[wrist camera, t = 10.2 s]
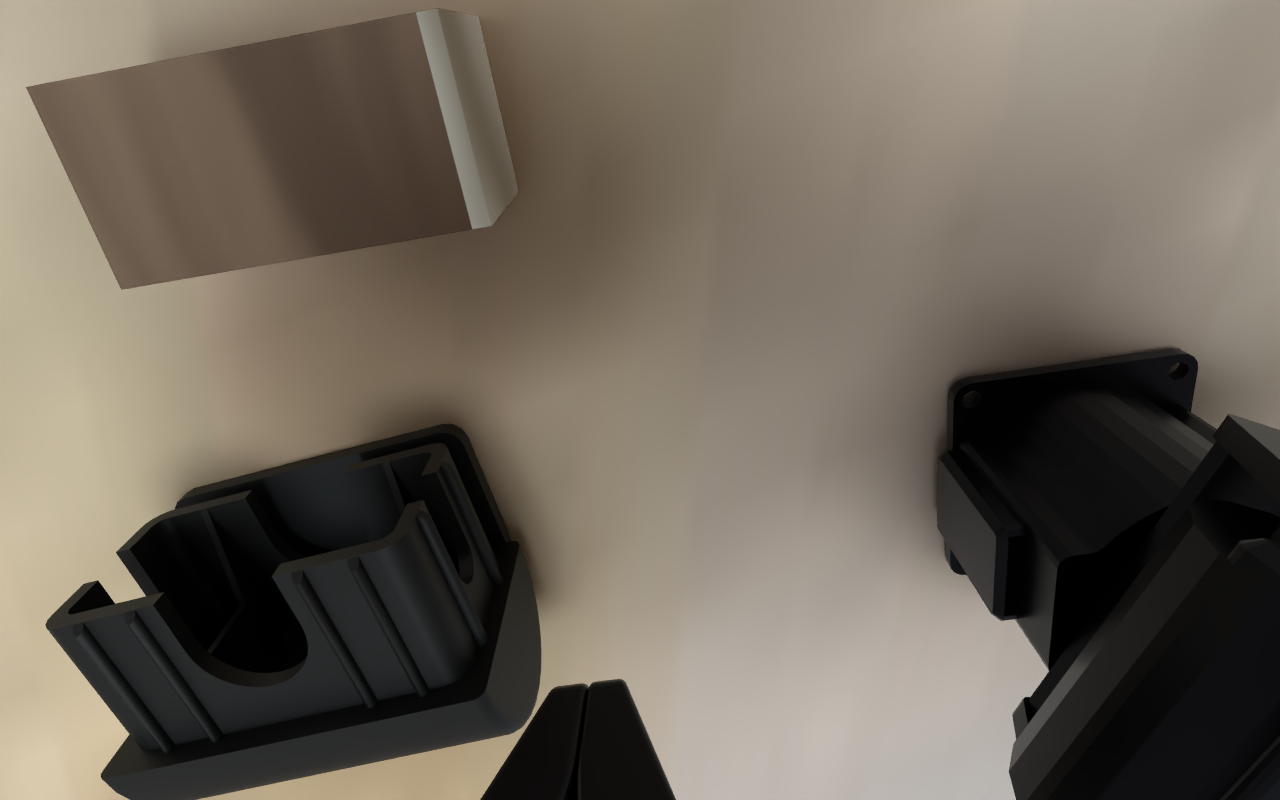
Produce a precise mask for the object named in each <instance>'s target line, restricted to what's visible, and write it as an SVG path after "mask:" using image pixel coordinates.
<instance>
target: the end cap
mask: <svg viewBox="0 0 1280 800" xmlns="http://www.w3.org/2000/svg"><path fill="white" fill-rule="evenodd" d="M116 553H117V555H118V556H119V558H120V559H121V560H122V562H123V563H124V565H125V566H126V568H127V569H128V571H129V572H130V573H131V575H132V576H133V578H134V579H135V581H136V582H137V583H138V585H139V586H140V588H141V589H142V591H143V592H144V593H145V595H146V597H142V598H138V599H134V600H130V601H125V602H121V603H117V604H115V603H114V602H113V600H112V599H111V597H110V596H109V595H108V593H107V592H106V591H105V589H104V588H103V586H102V585H101V584H100V582H99V581H94V582H90V583H86V584H83V585H82V586H81V587H80V588H79V589H78V590H77V591H76V592H75V593H74V594H73V595H72V596H71V597H70V598H69V599H68V600H67V601H66V602H65V603H64V604H63V605H62V606H61V607H60V608H59V609H58V610H57V611H56V612H55V613H54V614H53V615H52V616H51V617H50V618H49V619H48V620H47V623H46V628H47V629H48V630H49V632H50V633H51V634H52V636H53V637H54V638H55V639H56V641H57V642H58V643H59V644H60V646H61V647H62V648H63V650H64V651H65V652H66V653H67V655H68V656H69V657H70V659H71V660H72V661H73V662H74V664H75V665H76V666H77V667H78V669H79V670H80V671H81V673H82V674H83V675H84V676H85V678H86V679H87V680H88V681H89V683H90V684H91V685H92V687H93V688H94V689H95V690H96V692H97V693H98V694H99V695H100V697H101V698H102V699H103V701H104V702H105V703H106V704H107V706H108V707H109V708H110V710H111V711H112V712H113V713H114V715H115V716H116V717H117V718H118V720H119V721H120V722H121V724H122V725H123V726H124V727H125V729H126V730H127V731H128V732H129V734H130V735H129V736H128V737H127V739H126V740H125V741H124V743H123V744H122V746H121V747H120V748H119V750H118V751H117V752H116V754H115V755H114V756H113V758H112V759H111V761H110V762H109V763H108V765H107V766H106V767H105V769H104V770H103V772H102V773H101V778H102V779H103V780H104V781H105V782H106V783H107V784H108V785H109V786H110V787H111V788H112V789H113V790H114V791H115V792H117V793H118V794H120V795H122V796H124V797H126V798H128V799H130V800H197V799H201V798H206V797H211V796H216V795H221V794H225V793H230V792H235V791H240V790H245V789H249V788H254V787H259V786H264V785H269V784H273V783H278V782H283V781H288V780H293V779H297V778H302V777H307V776H312V775H317V774H321V773H326V772H331V771H336V770H341V769H345V768H350V767H355V766H360V765H364V764H369V763H374V762H379V761H384V760H388V759H393V758H398V757H403V756H408V755H412V754H417V753H422V752H427V751H432V750H436V749H441V748H446V747H451V746H456V745H460V744H465V743H470V742H475V741H480V740H484V739H489V738H494V737H499V736H504V735H508V734H511V733H514V732H515V731H517V730H519V729H520V728H522V727H523V726H524V724H525V723H526V722H527V720H528V719H529V717H530V716H531V714H532V711H533V709H534V706H535V703H536V699H537V695H538V690H539V684H540V674H541V636H540V625H539V617H538V610H537V604H536V598H535V593H534V589H533V585H532V580H531V576H530V573H529V569H528V566H527V563H526V559H525V557H524V554H523V551H522V549H521V546H520V543H519V542H517V541H511V540H510V537H509V534H508V531H507V528H506V525H505V523H504V521H503V518H502V516H501V513H500V511H499V509H498V506H497V504H496V502H495V499H494V497H493V495H492V492H491V490H490V487H489V485H488V483H487V480H486V478H485V476H484V473H483V471H482V469H481V466H480V464H479V461H478V459H477V457H476V454H475V452H474V450H473V447H472V445H471V443H470V440H469V438H468V436H467V435H466V434H465V432H464V431H463V430H462V429H461V428H459V427H457V426H455V425H452V424H442V425H438V426H434V427H430V428H426V429H423V430H419V431H415V432H411V433H407V434H403V435H399V436H395V437H392V438H388V439H384V440H380V441H376V442H372V443H368V444H365V445H361V446H357V447H353V448H349V449H345V450H341V451H337V452H334V453H330V454H326V455H322V456H318V457H314V458H310V459H307V460H303V461H299V462H295V463H291V464H287V465H283V466H279V467H276V468H272V469H268V470H264V471H260V472H256V473H252V474H248V475H245V476H241V477H237V478H233V479H229V480H225V481H221V482H218V483H214V484H210V485H206V486H202V487H198V488H194V489H192V490H191V491H189V492H187V493H186V494H185V495H184V496H183V497H182V498H181V499H180V500H179V501H178V502H177V505H176V508H175V510H172V511H169V512H166V513H164V514H162V515H160V516H158V517H156V518H154V519H152V520H151V521H149V522H148V523H146V524H145V525H144V526H143V527H142V528H140V529H139V530H138V531H137V532H136V533H135V534H134V535H133V536H132V537H131V538H130V539H129V540H128V541H127V542H126V543H125V544H124V545H123V546H122V547H121V548H120V549H119V550H118V551H117V552H116Z"/></svg>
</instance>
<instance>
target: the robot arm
mask: <svg viewBox="0 0 1280 800" xmlns="http://www.w3.org/2000/svg"><path fill="white" fill-rule="evenodd" d="M1177 363H1179V366H1178V368H1177V369H1176V370H1175V371H1174V372H1172V373H1170V374H1169V371H1170V369H1171V367H1172V366H1174V365H1175V364H1177ZM1197 371H1198V362H1197V360H1196V359H1195V357H1193V356H1191V355H1190V354H1188V353H1186V352H1184V351H1182V350H1180V349H1165V350H1158V351H1151V352H1144V353H1137V354H1130V355H1123V356H1116V357H1108V358H1101V359H1094V360H1087V361H1080V362H1073V363H1066V364H1059V365H1051V366H1044V367H1037V368H1030V369H1023V370H1016V371H1009V372H1001V373H994V374H987V375H980V376H973V377H966V378H963V379H960V380H958V381H957V382H956V383H954V384H953V386H952V387H951V389H950V390H949V395H948V430H947V450H944V452H943V453H942V454H941V456H940V457H939V458H938V510H937V526H938V529H939V531H940V533H941V534H942V536H943V537H944V539H945V541H946V542H945V557H946V561H947V562H948V564H949V566H950V567H951V569H952V570H953V571H954V572H955V573H957V574H960V575H967V576H968V577H969V579H970V581H971V582H972V584H973V585H974V587H975V589H976V590H977V592H978V593H979V595H980V597H981V598H982V600H983V601H984V603H985V605H986V606H987V608H988V609H989V611H990V613H991V614H993V615H994V616H995V617H997V618H998V619H999V620H1001V621H1003V620H1011V619H1015V620H1016V621H1017V623H1018V624H1019V626H1020V627H1021V629H1022V630H1023V632H1024V633H1025V635H1026V636H1027V638H1028V640H1029V641H1030V643H1031V644H1032V646H1033V647H1034V649H1035V650H1036V652H1037V653H1038V655H1039V656H1040V658H1041V659H1042V661H1043V662H1044V664H1045V665H1046V667H1047V668H1048V670H1049V673H1048V674H1047V675H1046V677H1045V678H1044V679H1043V681H1042V682H1041V684H1040V685H1039V686H1038V688H1037V689H1036V690H1035V692H1034V693H1033V695H1032V696H1031V697H1025V698H1024V699H1023V700H1022V701H1021V703H1020V704H1019V705H1018V707H1017V708H1016V710H1015V711H1014V712H1013V722H1014V727H1015V733H1016V739H1017V740H1016V741H1015V743H1014V745H1013V750H1012V756H1011V762H1010V768H1009V774H1010V777H1011V781H1012V785H1013V789H1014V793H1015V797H1016V800H1280V430H1277V429H1274V428H1271V427H1268V426H1265V425H1262V424H1259V423H1256V422H1253V421H1250V420H1247V419H1244V418H1240V417H1237V416H1234V415H1231V414H1228V415H1227V417H1226V418H1225V420H1224V421H1223V422H1222V424H1221V425H1220V427H1219V428H1218V429H1216V428H1214V427H1213V426H1211V425H1210V424H1208V423H1207V422H1205V421H1203V420H1202V419H1200V418H1199V417H1197V416H1196V415H1194V414H1193V413H1191V407H1192V401H1193V395H1194V389H1195V383H1196V377H1197ZM971 391H975V392H976V393H975V396H974V398H973V399H971V400H970V401H967V402H963V398H964V396H965V395H966V394H967V393H969V392H971ZM481 800H676V798H675V796H674V794H673V791H672V789H671V787H670V784H669V782H668V780H667V777H666V775H665V773H664V771H663V768H662V766H661V764H660V761H659V759H658V757H657V754H656V752H655V750H654V747H653V745H652V743H651V740H650V738H649V736H648V733H647V731H646V729H645V726H644V724H643V722H642V719H641V717H640V715H639V712H638V710H637V708H636V705H635V703H634V701H633V698H632V696H631V694H630V691H629V689H628V687H627V684H626V683H625V681H624V680H622V679H615V680H607V681H598V682H593V683H592V684H591V685H590V687H588V685H586V684H573V685H565V686H558V687H555V688H554V689H552V690H551V691H550V693H549V694H548V696H547V697H546V699H545V700H544V702H543V703H542V705H541V707H540V708H539V710H538V711H537V713H536V714H535V716H534V717H533V719H532V720H531V722H530V724H529V725H528V727H527V728H526V730H525V731H524V733H523V734H522V736H521V738H520V739H519V741H518V742H517V744H516V745H515V747H514V748H513V750H512V752H511V753H510V755H509V756H508V758H507V759H506V761H505V762H504V764H503V766H502V767H501V769H500V770H499V772H498V773H497V775H496V776H495V778H494V779H493V781H492V783H491V784H490V786H489V787H488V789H487V790H486V792H485V793H484V795H483V797H482V798H481Z"/></svg>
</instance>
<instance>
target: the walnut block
mask: <svg viewBox="0 0 1280 800" xmlns="http://www.w3.org/2000/svg"><path fill="white" fill-rule="evenodd" d="M26 88H27V90H28V92H29V94H30V97H31V99H32V101H33V103H34V105H35V107H36V109H37V111H38V114H39V116H40V118H41V120H42V122H43V124H44V126H45V128H46V131H47V133H48V135H49V137H50V139H51V141H52V143H53V145H54V148H55V150H56V152H57V154H58V156H59V158H60V160H61V162H62V165H63V167H64V169H65V171H66V173H67V175H68V177H69V179H70V182H71V184H72V186H73V188H74V190H75V192H76V194H77V196H78V199H79V201H80V203H81V205H82V207H83V209H84V211H85V213H86V216H87V218H88V220H89V222H90V224H91V226H92V228H93V230H94V233H95V235H96V237H97V239H98V241H99V243H100V245H101V247H102V250H103V252H104V254H105V256H106V258H107V260H108V262H109V264H110V267H111V269H112V271H113V273H114V275H115V277H116V279H117V281H118V284H119V286H120V288H121V290H122V289H128V288H134V287H140V286H145V285H151V284H157V283H163V282H169V281H174V280H180V279H186V278H192V277H198V276H204V275H209V274H215V273H221V272H227V271H233V270H239V269H244V268H250V267H256V266H262V265H268V264H273V263H279V262H285V261H291V260H297V259H303V258H308V257H314V256H320V255H326V254H332V253H337V252H343V251H349V250H355V249H361V248H367V247H372V246H378V245H384V244H390V243H396V242H402V241H407V240H413V239H419V238H425V237H431V236H436V235H442V234H448V233H454V232H460V231H466V230H471V229H477V228H483V227H489V226H492V225H493V224H494V222H495V221H496V220H497V219H498V217H499V216H500V215H501V214H502V212H503V211H504V210H505V209H506V207H507V206H508V205H509V204H510V202H511V201H512V200H513V199H514V197H515V196H516V195H517V194H518V193H519V191H518V186H517V182H516V177H515V173H514V169H513V164H512V160H511V156H510V151H509V147H508V143H507V138H506V134H505V130H504V125H503V121H502V117H501V112H500V108H499V104H498V99H497V95H496V91H495V86H494V82H493V78H492V73H491V69H490V65H489V60H488V56H487V52H486V47H485V43H484V39H483V34H482V30H481V26H480V21H479V17H478V16H475V15H470V14H465V13H460V12H454V11H449V10H444V9H439V8H435V9H430V10H425V11H420V12H415V13H409V14H404V15H399V16H394V17H389V18H383V19H378V20H373V21H368V22H363V23H357V24H352V25H347V26H342V27H337V28H331V29H326V30H321V31H316V32H311V33H305V34H300V35H295V36H290V37H284V38H279V39H274V40H269V41H264V42H258V43H253V44H248V45H243V46H238V47H232V48H227V49H222V50H217V51H212V52H206V53H201V54H196V55H191V56H186V57H180V58H175V59H170V60H165V61H160V62H154V63H149V64H144V65H139V66H134V67H128V68H123V69H118V70H113V71H107V72H102V73H97V74H92V75H87V76H81V77H76V78H71V79H66V80H61V81H55V82H50V83H45V84H40V85H35V86H29V87H26Z"/></svg>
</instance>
